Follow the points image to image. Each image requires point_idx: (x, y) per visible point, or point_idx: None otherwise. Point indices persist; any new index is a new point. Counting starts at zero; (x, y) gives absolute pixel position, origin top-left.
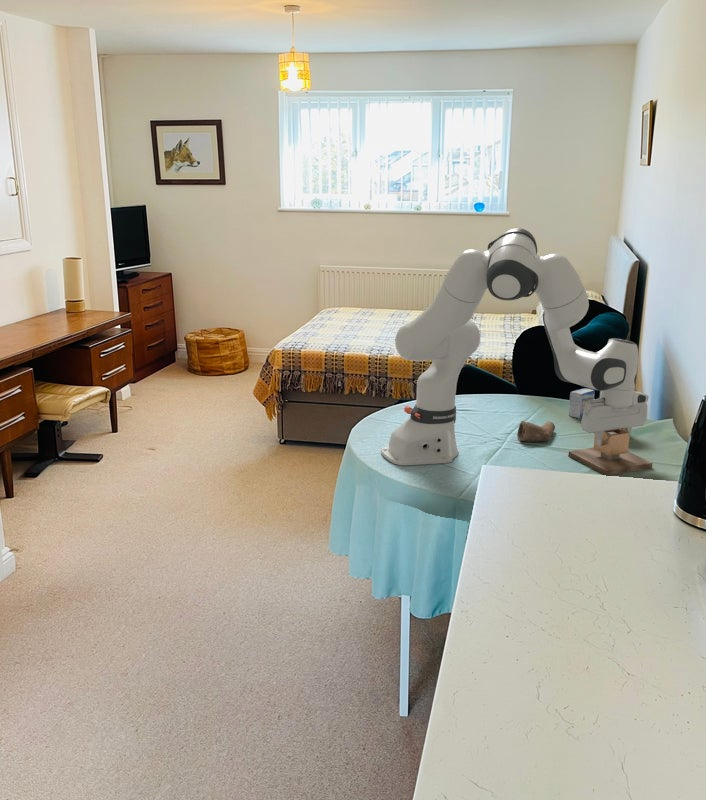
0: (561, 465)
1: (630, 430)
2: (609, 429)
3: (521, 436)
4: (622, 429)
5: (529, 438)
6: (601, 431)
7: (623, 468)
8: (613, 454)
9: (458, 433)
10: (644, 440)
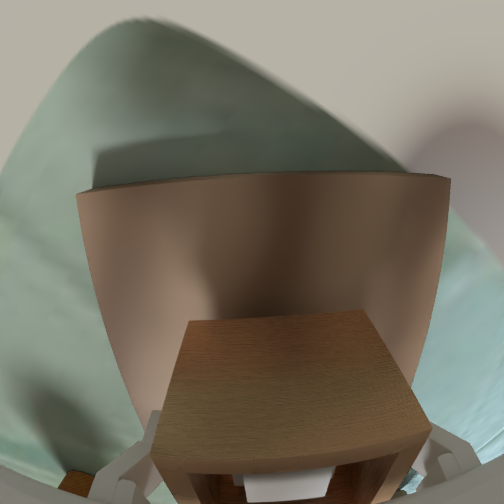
0: (480, 341)
1: (104, 475)
2: (414, 501)
3: None
4: (66, 480)
5: (393, 496)
6: (459, 474)
7: (325, 174)
8: (328, 315)
9: None
10: (21, 420)
